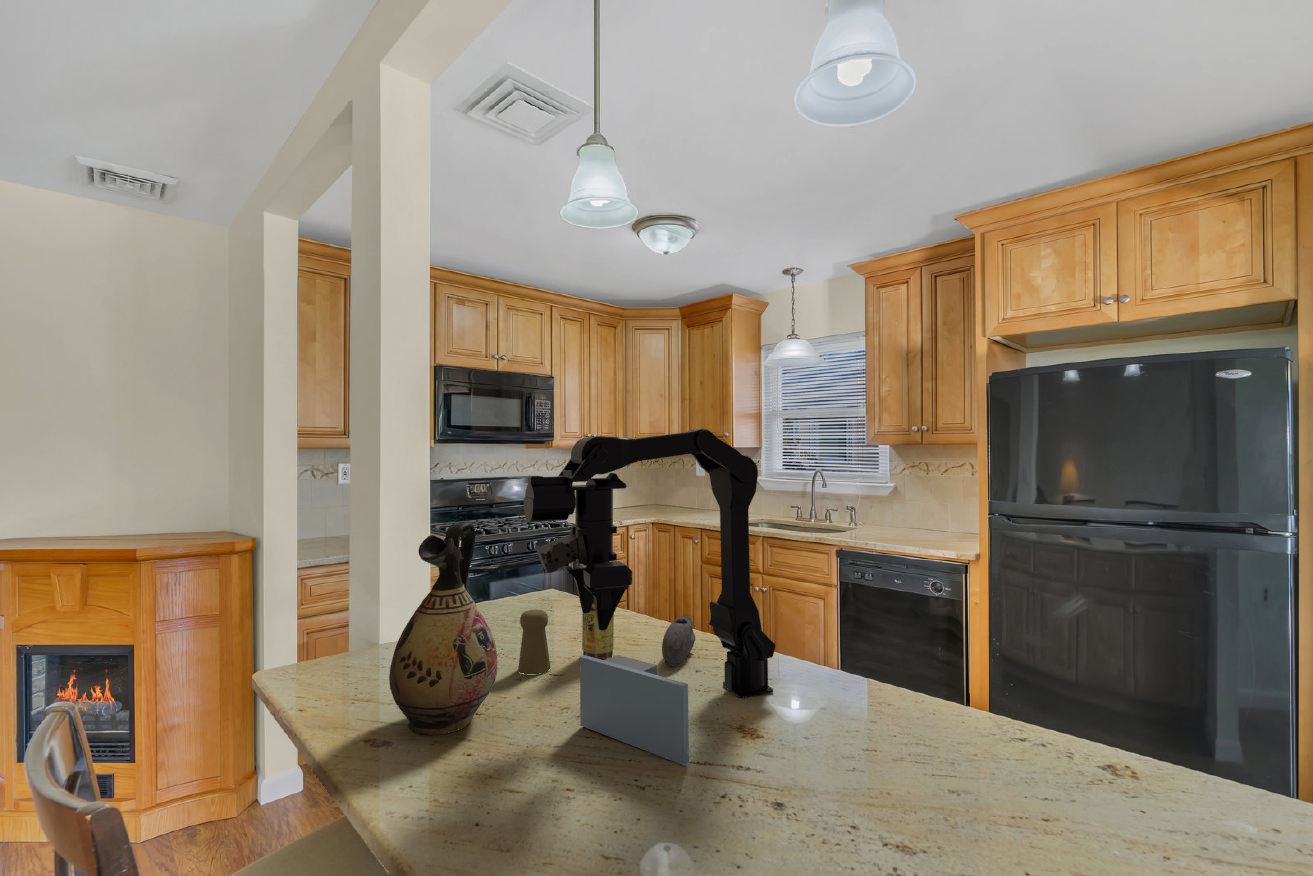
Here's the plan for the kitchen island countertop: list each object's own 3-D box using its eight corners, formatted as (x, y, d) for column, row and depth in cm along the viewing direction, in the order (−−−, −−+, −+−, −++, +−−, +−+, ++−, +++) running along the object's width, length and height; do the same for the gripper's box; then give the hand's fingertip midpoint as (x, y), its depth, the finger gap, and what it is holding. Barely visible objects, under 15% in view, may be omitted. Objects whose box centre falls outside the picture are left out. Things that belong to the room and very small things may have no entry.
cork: (511, 672, 113) (510, 612, 114) (532, 662, 119) (531, 605, 119) (536, 677, 111) (536, 616, 111) (557, 667, 116) (556, 608, 116)
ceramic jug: (466, 750, 83) (465, 529, 84) (366, 741, 86) (366, 528, 87) (518, 701, 100) (518, 517, 101) (433, 694, 103) (433, 516, 104)
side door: (585, 723, 91) (584, 655, 91) (689, 762, 79) (688, 683, 79) (580, 725, 90) (579, 656, 90) (684, 765, 78) (683, 686, 78)
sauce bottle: (578, 655, 123) (577, 555, 123) (607, 650, 125) (606, 553, 126) (588, 665, 117) (587, 560, 118) (619, 660, 120) (618, 558, 120)
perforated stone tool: (679, 674, 112) (679, 635, 112) (652, 671, 113) (651, 633, 114) (699, 649, 126) (698, 615, 126) (674, 647, 128) (674, 613, 128)
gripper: (530, 513, 99) (530, 610, 99) (554, 530, 81) (554, 647, 81) (596, 511, 103) (596, 603, 103) (633, 526, 86) (633, 637, 86)
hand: (593, 621), depth 93 cm, fingers open, 9 cm apart
